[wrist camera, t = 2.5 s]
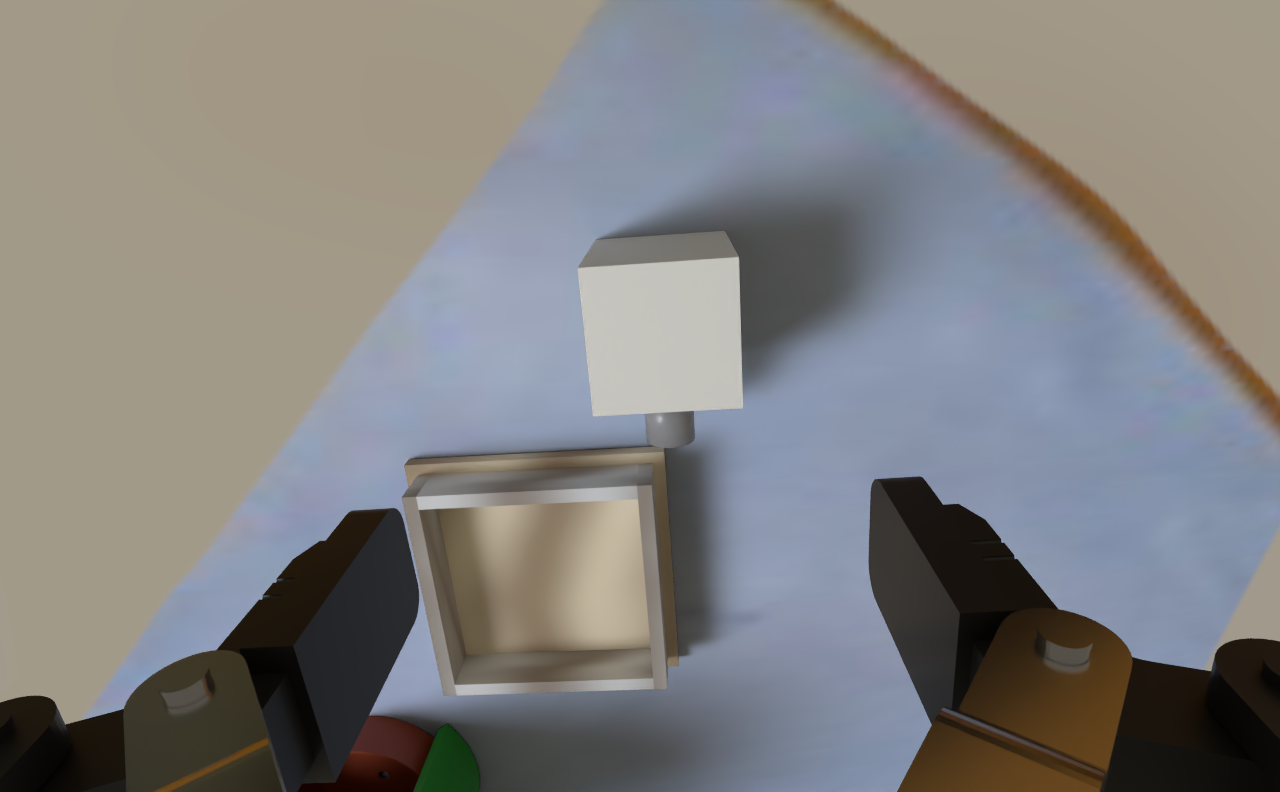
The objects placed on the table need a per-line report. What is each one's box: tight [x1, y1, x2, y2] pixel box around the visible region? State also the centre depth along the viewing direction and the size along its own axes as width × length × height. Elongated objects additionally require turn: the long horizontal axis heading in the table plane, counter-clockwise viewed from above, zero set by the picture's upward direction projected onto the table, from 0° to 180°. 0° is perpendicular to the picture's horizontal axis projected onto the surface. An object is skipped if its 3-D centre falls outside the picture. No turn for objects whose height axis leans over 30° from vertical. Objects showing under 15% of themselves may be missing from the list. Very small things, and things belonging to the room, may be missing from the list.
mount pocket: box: [402, 446, 679, 696], centre depth 32 cm, size 11×11×3 cm
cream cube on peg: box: [578, 231, 743, 448], centre depth 26 cm, size 5×7×6 cm
